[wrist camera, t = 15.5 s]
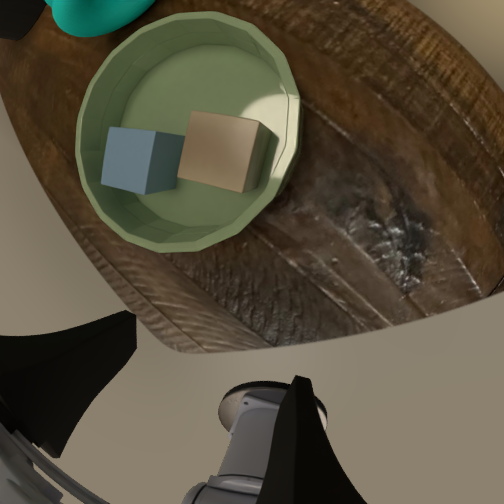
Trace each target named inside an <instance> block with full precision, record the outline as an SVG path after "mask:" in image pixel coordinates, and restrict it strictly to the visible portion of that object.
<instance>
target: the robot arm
mask: <svg viewBox="0 0 504 504" xmlns="http://www.w3.org/2000/svg"><path fill="white" fill-rule="evenodd" d="M136 337H137V336H136V315H135V314H133V313H131V312H129V311H127V310H124V311H121V312H118V313H116V314H112V315H110V316H107V317H104V318H101V319H98V320H96V321H93V322H90V323H87V324H84V325H80V326H77V327H74V328H70V329H67V330H63V331H58V332H54V333H48V334H41V335H31V336H1V335H0V504H63V503H61V502H60V499H61V498H62V497H63V494H62V493H61V492H60V491H59V490H57V489H56V488H55V487H54V486H52V485H51V484H50V483H49V482H48V481H46V480H45V479H44V478H43V477H42V476H41V475H40V474H39V473H38V472H36V471H35V470H34V468H33V462H34V463H35V464H36V465H37V466H38V467H39V468H40V469H41V470H42V471H43V472H44V473H46V474H47V475H48V476H49V477H50V478H52V479H53V480H54V481H55V482H56V483H58V484H59V485H60V486H61V487H63V488H64V489H65V490H66V491H68V492H69V493H70V494H72V495H73V496H75V497H76V498H77V499H79V500H80V501H81V502H83V503H84V504H110V503H108V502H106V501H105V500H103V499H101V498H100V497H98V496H97V495H95V494H93V493H92V492H90V491H89V490H88V489H86V488H85V487H83V486H82V485H80V484H79V483H78V482H76V481H75V480H74V479H72V478H71V477H69V476H68V475H67V474H65V473H64V472H63V471H62V470H61V469H59V468H58V467H57V466H56V465H54V464H53V463H52V462H51V461H50V460H49V459H47V458H46V457H45V456H44V455H43V454H42V453H41V452H40V451H39V450H37V449H36V448H35V447H34V446H33V445H32V443H34V444H35V445H36V446H37V447H38V448H39V447H41V448H42V449H43V450H44V451H45V452H47V453H48V454H49V455H50V456H51V457H52V458H60V456H61V454H62V452H63V450H64V447H65V445H66V443H67V441H68V439H69V437H70V436H71V434H72V432H73V430H74V428H75V427H76V425H77V423H78V422H79V420H80V419H81V417H82V416H83V414H84V412H85V411H86V410H87V408H88V407H89V405H90V404H91V402H92V401H93V400H94V398H95V397H96V396H97V395H98V393H100V391H101V390H102V389H103V388H104V387H105V386H106V385H107V384H108V383H109V382H110V381H111V380H112V379H113V378H114V377H115V375H116V374H117V373H118V372H119V371H120V370H121V369H122V368H123V367H124V366H125V365H126V363H127V362H128V360H129V359H130V357H131V356H132V355H133V353H134V352H135V350H136V349H137V338H136ZM228 438H229V439H231V441H230V444H229V446H228V449H227V452H226V455H225V457H224V460H223V462H222V465H221V467H220V470H219V472H218V475H217V476H212V475H211V476H210V478H209V480H208V482H207V483H205V482H201V483H199V484H197V485H196V486H194V487H192V488H191V489H190V490H189V491H188V493H187V494H186V496H185V497H184V499H183V501H182V504H367V503H366V502H365V501H364V499H363V498H362V497H361V495H360V494H359V493H358V492H357V490H356V489H355V487H354V486H353V484H352V483H351V482H350V480H349V478H348V477H347V475H346V474H345V472H344V471H343V469H342V467H341V465H340V464H339V462H338V460H337V458H336V456H335V454H334V452H333V449H332V447H331V445H330V442H329V440H328V438H327V435H326V433H325V430H324V427H323V424H322V421H321V418H320V414H319V411H318V408H317V404H316V400H315V396H314V392H313V388H312V383H311V380H310V379H309V378H305V377H301V376H298V375H296V376H295V377H294V379H293V381H292V383H291V385H290V387H289V389H288V391H287V392H286V394H285V396H284V398H283V400H282V402H281V403H280V405H279V404H276V403H272V402H269V401H265V400H262V399H259V398H256V397H252V396H249V395H245V396H244V397H243V399H242V402H241V404H240V407H239V409H238V412H237V414H236V417H235V419H234V422H233V424H232V427H231V429H230V432H229V434H228Z"/></svg>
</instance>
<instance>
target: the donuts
mask: <svg viewBox="0 0 504 504" xmlns="http://www.w3.org/2000/svg"><path fill="white" fill-rule="evenodd" d="M45 2H46V3H47V4H48V5H49V6H50V7H52V13H53V17H54V20H55V22H56V23H57V25H58V26H59V27H60V28H61V29H62V30H63V31H65V32H66V33H68V34H71V35H74V36H78V37H93V36H100V35H104V34H107V33H110V32H113V31H115V30H118V29H120V28H122V27H124V26H125V25H127V24H129V23H130V22H132V21H133V20H135V19H136V18H138V17H139V16H140V15H142V14H143V13H144V12H145V11H146V10H147V9H148V8H149V7H150V6H151V5H152V4H153V3H154V2H155V0H45Z"/></svg>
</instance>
